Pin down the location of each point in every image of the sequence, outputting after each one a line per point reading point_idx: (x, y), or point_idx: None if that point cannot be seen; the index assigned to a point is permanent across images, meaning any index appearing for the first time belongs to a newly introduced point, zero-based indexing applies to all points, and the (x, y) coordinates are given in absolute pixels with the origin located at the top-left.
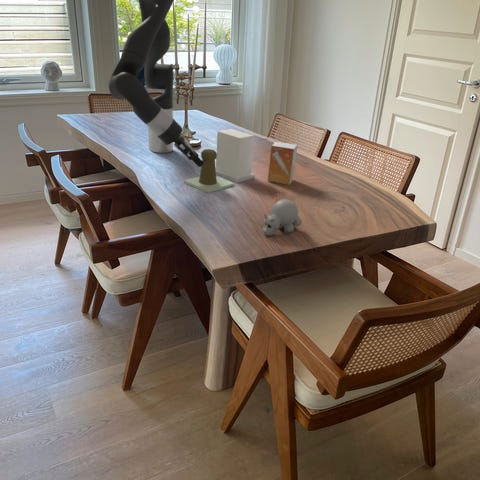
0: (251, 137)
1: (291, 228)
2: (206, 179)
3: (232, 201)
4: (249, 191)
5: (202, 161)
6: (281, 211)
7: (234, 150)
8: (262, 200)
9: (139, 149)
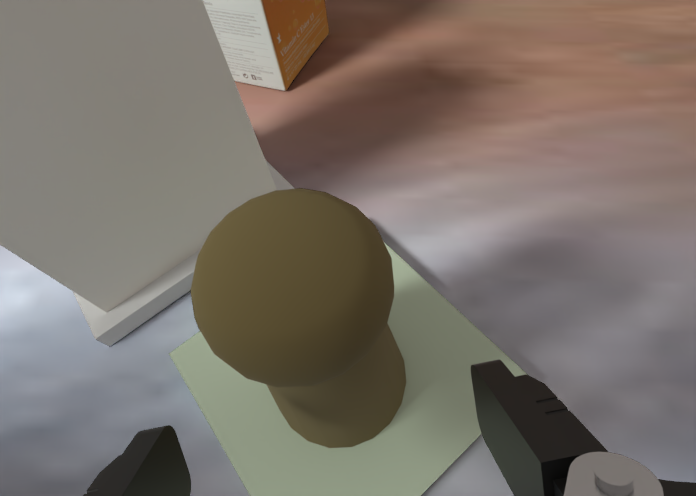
0: None
1: None
2: (399, 377)
3: (627, 237)
4: (437, 159)
5: (507, 371)
6: None
7: (172, 75)
8: (552, 114)
9: None
